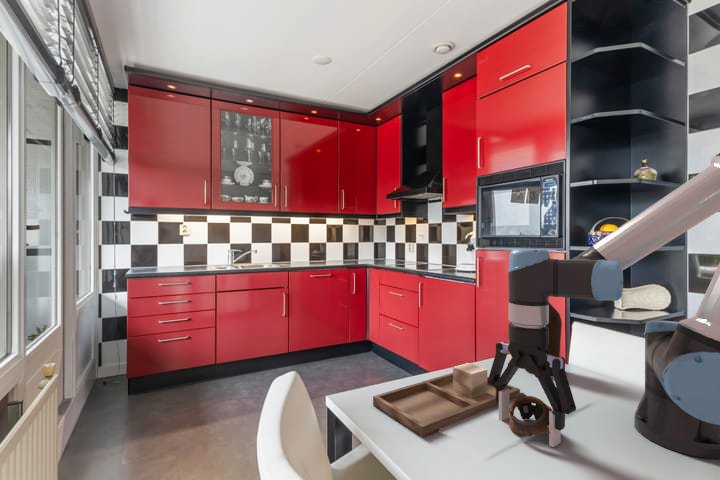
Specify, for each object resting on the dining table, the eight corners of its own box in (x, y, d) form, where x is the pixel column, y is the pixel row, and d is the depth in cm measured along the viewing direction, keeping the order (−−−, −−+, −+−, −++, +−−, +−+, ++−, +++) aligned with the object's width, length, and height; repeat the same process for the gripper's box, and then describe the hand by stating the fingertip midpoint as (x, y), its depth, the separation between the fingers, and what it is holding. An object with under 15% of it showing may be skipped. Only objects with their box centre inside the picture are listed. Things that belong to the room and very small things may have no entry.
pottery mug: (574, 446, 71) (562, 415, 69) (530, 466, 71) (516, 436, 69) (540, 403, 82) (528, 375, 80) (502, 421, 83) (489, 394, 81)
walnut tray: (519, 397, 91) (520, 389, 91) (422, 437, 73) (422, 426, 73) (465, 376, 105) (465, 368, 105) (373, 405, 87) (373, 396, 87)
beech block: (487, 392, 92) (487, 369, 92) (471, 398, 89) (471, 374, 89) (468, 384, 97) (468, 362, 97) (453, 390, 94) (453, 367, 94)
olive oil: (566, 371, 109) (566, 288, 109) (554, 380, 102) (554, 291, 102) (529, 362, 117) (529, 284, 117) (516, 370, 109) (516, 288, 109)
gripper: (598, 333, 67) (597, 453, 67) (492, 312, 86) (491, 405, 86) (577, 339, 63) (577, 467, 63) (471, 315, 82) (470, 413, 82)
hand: (527, 431), depth 75 cm, fingers open, 10 cm apart
